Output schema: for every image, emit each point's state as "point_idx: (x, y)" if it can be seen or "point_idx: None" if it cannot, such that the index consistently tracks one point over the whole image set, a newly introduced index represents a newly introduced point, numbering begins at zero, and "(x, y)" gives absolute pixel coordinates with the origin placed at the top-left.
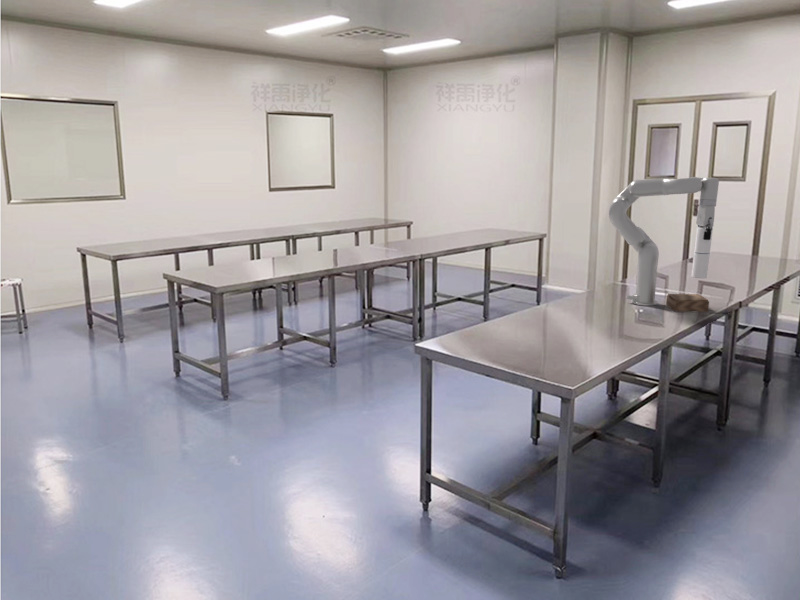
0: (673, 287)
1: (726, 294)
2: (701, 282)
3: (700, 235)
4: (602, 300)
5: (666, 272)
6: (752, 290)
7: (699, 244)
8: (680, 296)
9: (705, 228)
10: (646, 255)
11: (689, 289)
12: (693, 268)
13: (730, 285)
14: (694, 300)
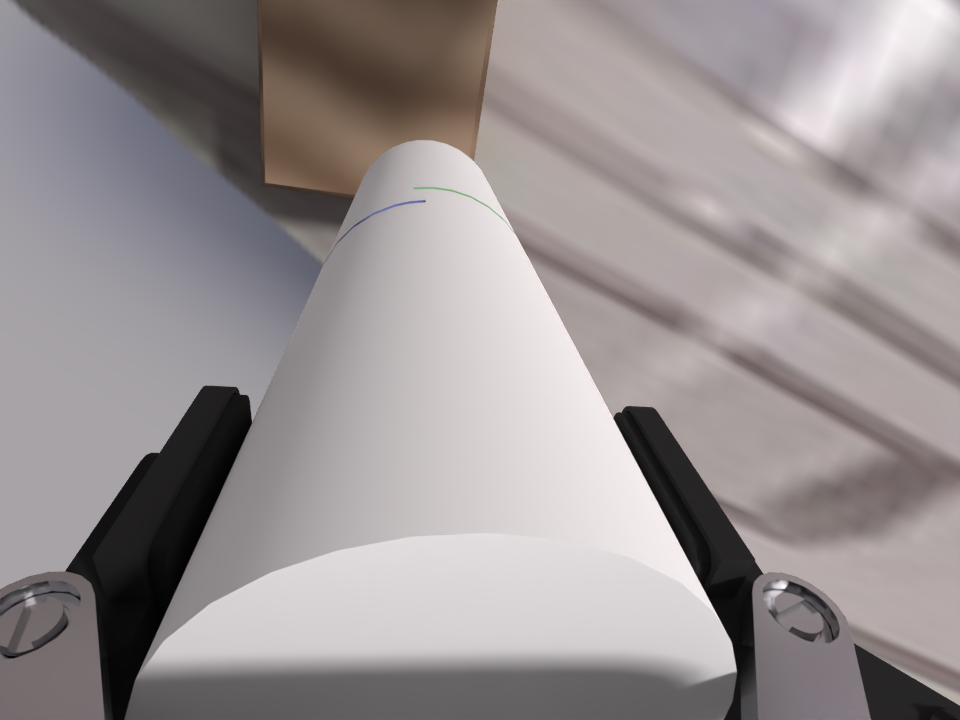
0: (926, 287)
1: None
2: (941, 469)
3: (294, 392)
4: None
5: None
6: None
7: (334, 280)
8: (388, 11)
9: (13, 716)
10: None
11: (842, 348)
12: (417, 155)
13: (827, 548)
14: (265, 73)
